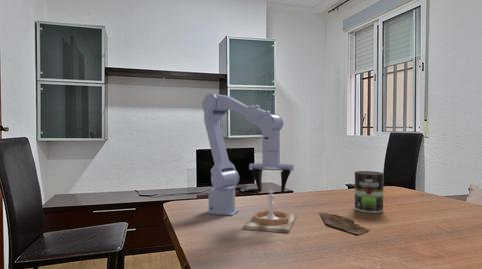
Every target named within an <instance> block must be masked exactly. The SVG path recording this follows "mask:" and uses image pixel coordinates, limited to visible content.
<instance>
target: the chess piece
mask: <svg viewBox="0 0 482 269" xmlns="http://www.w3.org/2000/svg"><path fill="white" fill-rule="evenodd" d="M274 193H275V192H274V191H273V190H272V189H270V190H269V191H268V195H267V198H268V202H267V204H268V205H269V208H268V210H269V214H268V216H266V217H264V219H278V217H276V216H275V215H274V213H273V211H274V207H273V205H274V204H275V202H274V198H275V195H274Z"/></svg>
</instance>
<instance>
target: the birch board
mask: <svg viewBox="0 0 482 269" xmlns="http://www.w3.org/2000/svg"><path fill="white" fill-rule="evenodd" d="M257 212H259V211H257ZM289 214H290V221H289V223H285V224H279V225H268V224H260V223H258V222H256V221H254V220H253V216H252V217H250V218H249V220H247V222H245V223H244V225H243V229H244V230H252V231H253V230H255V231H266V232H275V233H285V232H286V233H288V234H289V233H290V232H291V230H292V228H293V226H294V223H295V221H296V219H297V218H298V217H297V215H298V214H297V213H289ZM267 216H268V215H267ZM264 217H266V216H260V218H262V219H264ZM276 217H278V219H281V218H284V217H282V216H276ZM286 233H285V234H286Z"/></svg>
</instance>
